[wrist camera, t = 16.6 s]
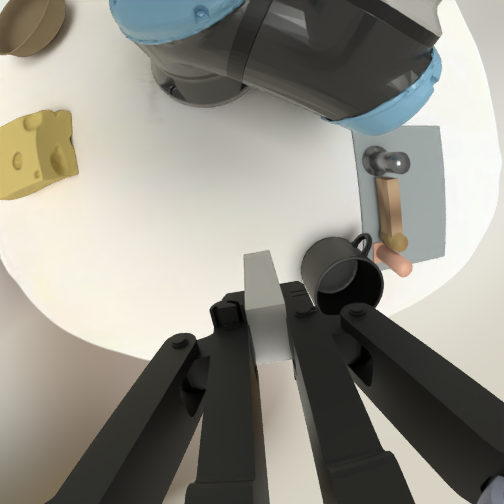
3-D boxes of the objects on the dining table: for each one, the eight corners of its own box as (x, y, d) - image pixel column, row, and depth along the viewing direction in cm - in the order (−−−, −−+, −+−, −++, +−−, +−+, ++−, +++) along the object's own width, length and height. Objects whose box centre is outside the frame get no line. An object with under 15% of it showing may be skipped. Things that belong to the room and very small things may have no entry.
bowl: (13, 61, 30) (-22, 51, 21) (45, 1, 27) (16, -17, 17) (54, 69, 32) (18, 57, 23) (91, 4, 29) (64, -20, 19)
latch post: (371, 242, 43) (395, 259, 35) (389, 239, 43) (415, 255, 35) (372, 261, 44) (394, 282, 36) (389, 258, 44) (414, 277, 36)
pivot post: (359, 147, 38) (383, 146, 31) (385, 145, 38) (413, 144, 31) (362, 177, 40) (387, 182, 32) (388, 174, 40) (416, 179, 32)
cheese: (72, 111, 35) (34, 104, 25) (81, 177, 38) (44, 185, 29) (25, 133, 35) (-14, 133, 26) (34, 194, 38) (-4, 205, 29)
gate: (373, 178, 38) (388, 181, 34) (388, 176, 38) (403, 178, 34) (380, 244, 41) (394, 253, 37) (394, 241, 41) (408, 250, 37)
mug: (379, 240, 43) (407, 260, 34) (338, 304, 46) (356, 334, 37) (331, 209, 41) (353, 223, 33) (288, 279, 44) (299, 308, 36)
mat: (351, 128, 38) (352, 128, 37) (437, 126, 37) (439, 126, 37) (364, 272, 44) (365, 273, 44) (443, 255, 44) (444, 256, 44)
